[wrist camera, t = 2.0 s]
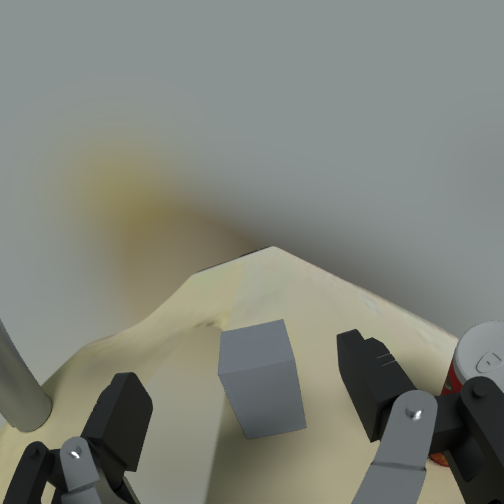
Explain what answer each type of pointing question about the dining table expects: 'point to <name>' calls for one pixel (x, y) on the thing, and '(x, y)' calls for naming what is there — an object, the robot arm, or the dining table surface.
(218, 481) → the dining table surface
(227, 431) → the dining table surface
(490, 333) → the canned food
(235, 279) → the dining table surface
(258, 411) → the tall grey pillar block
